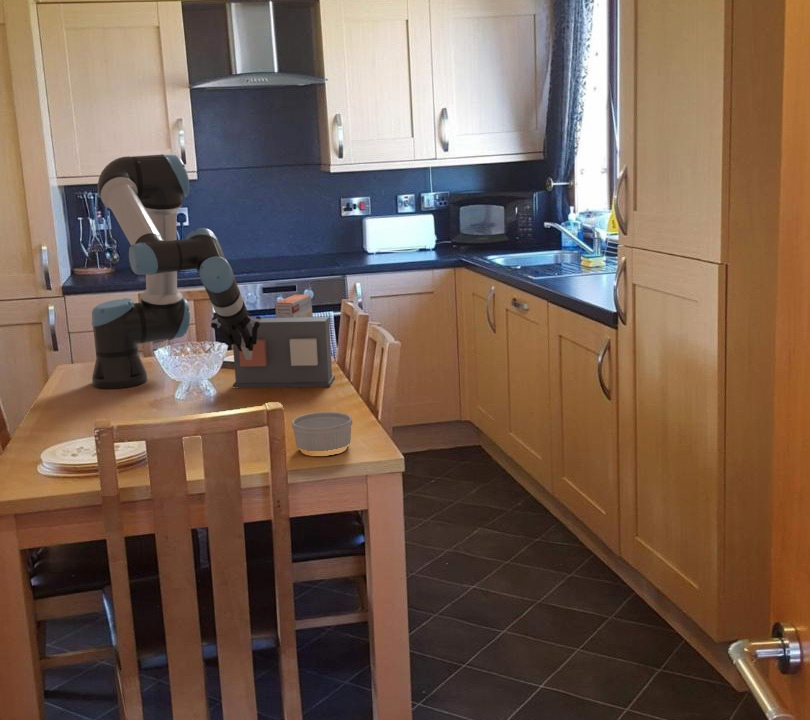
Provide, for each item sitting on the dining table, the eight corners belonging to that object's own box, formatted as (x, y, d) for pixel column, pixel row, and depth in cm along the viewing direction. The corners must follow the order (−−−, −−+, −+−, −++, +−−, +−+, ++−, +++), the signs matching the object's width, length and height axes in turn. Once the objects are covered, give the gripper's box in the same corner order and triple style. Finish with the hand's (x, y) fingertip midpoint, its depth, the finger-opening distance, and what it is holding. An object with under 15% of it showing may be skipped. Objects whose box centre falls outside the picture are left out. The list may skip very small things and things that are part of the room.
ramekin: (294, 442, 227) (292, 412, 225) (352, 439, 228) (351, 409, 226) (292, 461, 214) (290, 430, 213) (354, 457, 215) (352, 426, 213)
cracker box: (298, 361, 305) (293, 293, 300) (316, 362, 303) (312, 294, 299) (278, 372, 292) (273, 301, 288) (297, 373, 290) (293, 302, 286)
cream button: (316, 365, 271) (315, 340, 270) (291, 365, 272) (289, 340, 270) (323, 356, 282) (321, 332, 280) (298, 356, 282) (297, 332, 281)
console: (329, 386, 274) (326, 322, 270) (232, 388, 277) (228, 324, 273) (334, 378, 283) (331, 315, 279) (240, 379, 285) (236, 317, 281)
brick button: (265, 366, 273) (263, 340, 271) (240, 366, 273) (238, 341, 272) (273, 357, 283) (272, 332, 281) (249, 357, 283) (247, 333, 282)
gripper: (256, 292, 251) (274, 343, 271) (205, 293, 252) (227, 344, 272) (253, 317, 247) (271, 367, 267) (201, 318, 248) (223, 367, 268)
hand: (249, 355), depth 269 cm, fingers closed
